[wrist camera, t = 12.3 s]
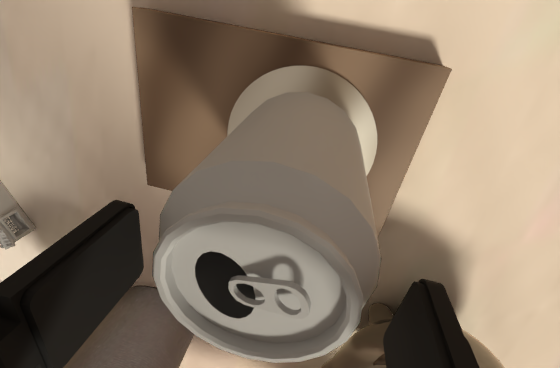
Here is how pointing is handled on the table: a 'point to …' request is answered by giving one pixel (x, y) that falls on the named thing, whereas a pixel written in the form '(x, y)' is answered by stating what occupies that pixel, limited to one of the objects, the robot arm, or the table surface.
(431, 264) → the table surface
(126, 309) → the pillar candle
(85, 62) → the table surface
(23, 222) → the lattice window wall
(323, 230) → the can
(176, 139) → the board
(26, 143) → the table surface
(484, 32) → the table surface
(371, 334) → the piggy bank
